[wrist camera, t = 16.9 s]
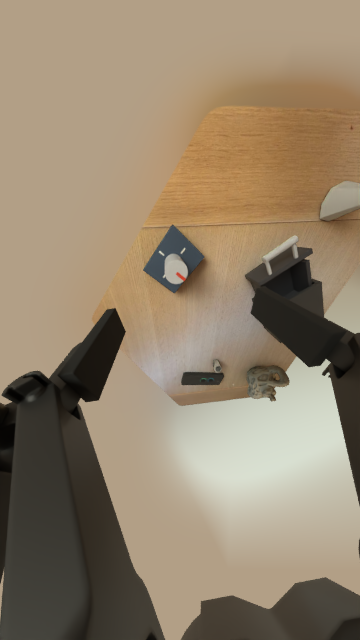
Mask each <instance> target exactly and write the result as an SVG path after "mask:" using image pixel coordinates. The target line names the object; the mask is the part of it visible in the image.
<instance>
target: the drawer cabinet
mask: <svg viewBox="0 0 360 640" xmlns="http://www.w3.org/2000/svg"><path fill="white" fill-rule="evenodd" d="M288 300H290V301H292V302H294V303H295V304H297V305H299V306H301V307H303V308H305V309H307V310H308V311H311V312H314V313H316V314H318V315H320V316H322V317H324V309H323V295H322V282H320V281H317V280H314V279H312V285H311V286H309V287H307V288H305V289H304V290H302V291H300V292H298V293H297V294H295V295H293V296H291V297H290V298H288ZM252 301H253V302H254V298H252ZM263 326H264V325H263ZM264 328H265V329H266V330H267V331H268V332H269V333H270V334H271V335H272V336H274V337H275V338H276V339H277V340H278V341H279V342H280V343H281V341H280V340H279V339H278V338H277V337H276V336H275V335H274V334H273V333H271V332H270V331H269V330H268V329H267V328H266V327H265V326H264Z"/></svg>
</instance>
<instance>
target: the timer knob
mask: <svg viewBox="0 0 360 640" xmlns="http://www.w3.org/2000/svg"><path fill="white" fill-rule="evenodd" d="M187 275H188V269H187V266H186V265H185V263H184V262H183V260H182V259H181V257H180V256H179V255H177V254H170V255H168V256H167V257H166V259H165V276H166V279H167V280H168V281H169V282H170V283H173V284H180V283H182V282H183V281H185V280H186V278H187Z"/></svg>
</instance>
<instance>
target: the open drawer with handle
mask: <svg viewBox="0 0 360 640" xmlns="http://www.w3.org/2000/svg"><path fill="white" fill-rule="evenodd" d="M297 242H298V237H297V236H292V237H291V238H289V239H288V240H286V241H285V242H284V243H282V244H281V245H279V246H278V247H276V248H275V249H273V250H272V251H270V252H269V253H267V254H266V255H265V256H263V257H262V258H261V259H262V261H263V263H262V264H261V265H259V266H258V267H256V268H255V269H253V270H252V271H250V272H249V273H248V274H246V275H245V277H246V279H248V280H250V281H251V284H252V286H253V289H254V291H255V293H256V289H257V288H261V287H266V288H267V289H269V290H271V291H273V292H275V293H277V294H279V295H280V296H282V297H284V298H286V299H288V298H290V297H291V296H293V295H295V294H297V293H298V292H300V291H302V290H304V289H305V288H307V287H309V286H311V285H312V279H311V271H310V262H309V260H305V259H304V258H306V257H307V256H309V255H311V254H312V253H313V251H312V248H302V247H297V246H296V243H297Z"/></svg>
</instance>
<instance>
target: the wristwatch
mask: <svg viewBox="0 0 360 640" xmlns="http://www.w3.org/2000/svg"><path fill="white" fill-rule="evenodd" d="M213 367H214V371H215V372H216V373H219V372H221V369H222V367H221V366H220V364H219V362H218V360H213Z"/></svg>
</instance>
